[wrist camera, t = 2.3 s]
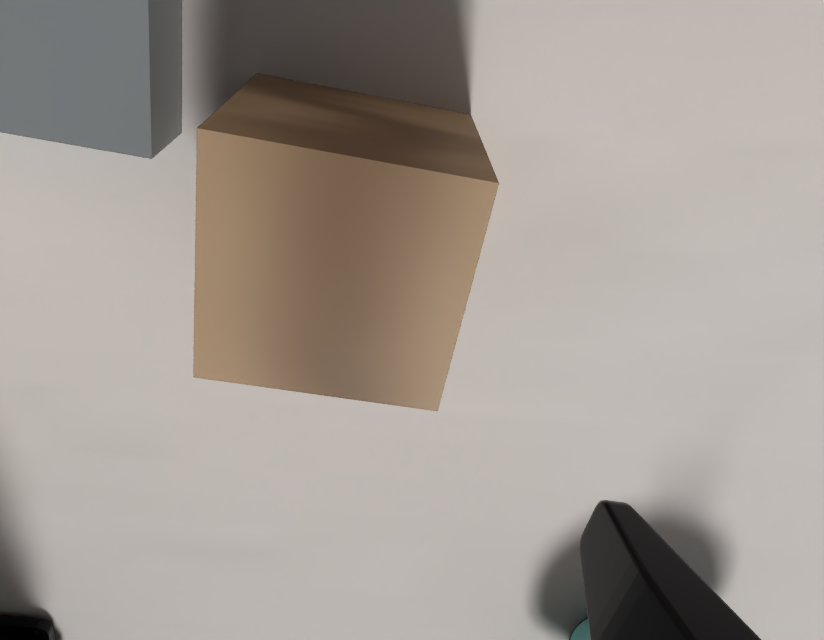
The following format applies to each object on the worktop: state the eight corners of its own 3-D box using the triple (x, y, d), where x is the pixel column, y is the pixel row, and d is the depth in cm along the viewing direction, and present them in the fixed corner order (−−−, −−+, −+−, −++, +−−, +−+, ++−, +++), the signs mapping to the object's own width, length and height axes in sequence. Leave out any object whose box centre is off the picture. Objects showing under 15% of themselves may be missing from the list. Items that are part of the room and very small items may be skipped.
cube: (245, 266, 20) (193, 377, 15) (257, 72, 17) (197, 127, 12) (428, 295, 21) (437, 411, 16) (470, 114, 18) (498, 183, 13)
